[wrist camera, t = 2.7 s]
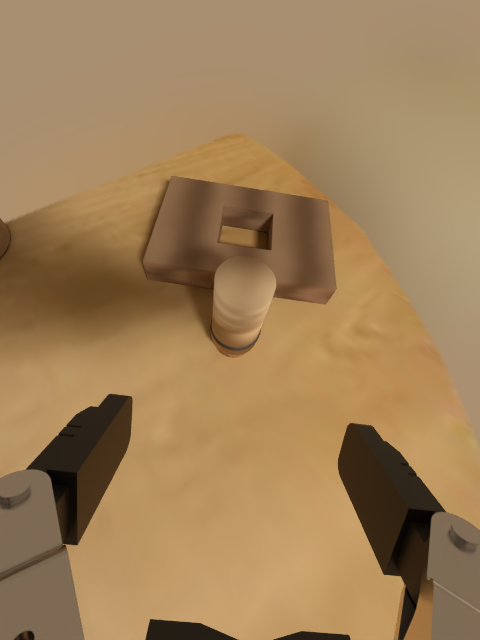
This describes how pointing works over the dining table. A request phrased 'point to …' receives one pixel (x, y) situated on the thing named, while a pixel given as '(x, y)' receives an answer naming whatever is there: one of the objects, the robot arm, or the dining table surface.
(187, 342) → the dining table surface
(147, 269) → the board
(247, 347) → the peg
